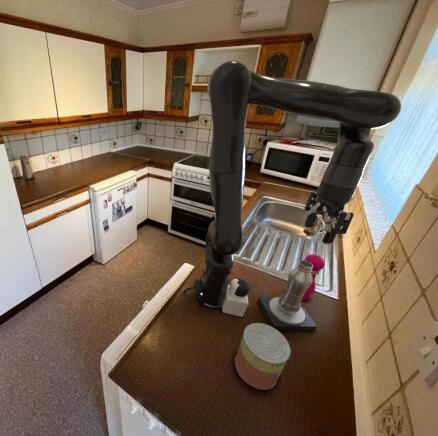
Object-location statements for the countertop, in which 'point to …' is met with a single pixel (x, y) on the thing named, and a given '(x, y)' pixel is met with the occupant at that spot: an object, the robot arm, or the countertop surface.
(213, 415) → the countertop surface
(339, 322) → the countertop surface
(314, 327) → the scale
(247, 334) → the canned food
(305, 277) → the plastic bottle
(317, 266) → the pepper mill
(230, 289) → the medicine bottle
